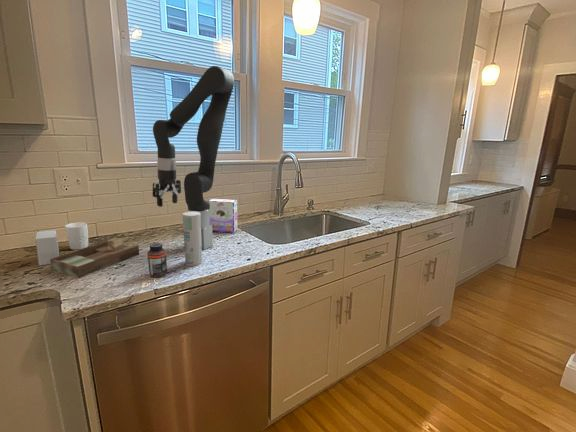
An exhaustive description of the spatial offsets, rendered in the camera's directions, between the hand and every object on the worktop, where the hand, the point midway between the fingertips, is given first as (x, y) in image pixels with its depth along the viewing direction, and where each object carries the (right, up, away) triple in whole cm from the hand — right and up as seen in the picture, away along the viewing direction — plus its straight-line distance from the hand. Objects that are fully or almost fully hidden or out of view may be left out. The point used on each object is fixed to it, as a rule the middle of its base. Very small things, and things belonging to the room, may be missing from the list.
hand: (167, 204), depth 141 cm
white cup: (-36, -19, -4) cm, 41 cm away
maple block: (-16, -19, -12) cm, 28 cm away
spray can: (+17, -24, -17) cm, 34 cm away
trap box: (-20, -23, -19) cm, 35 cm away
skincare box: (-39, -22, -18) cm, 48 cm away
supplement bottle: (+7, -26, -28) cm, 39 cm away
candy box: (+20, -13, +25) cm, 34 cm away
